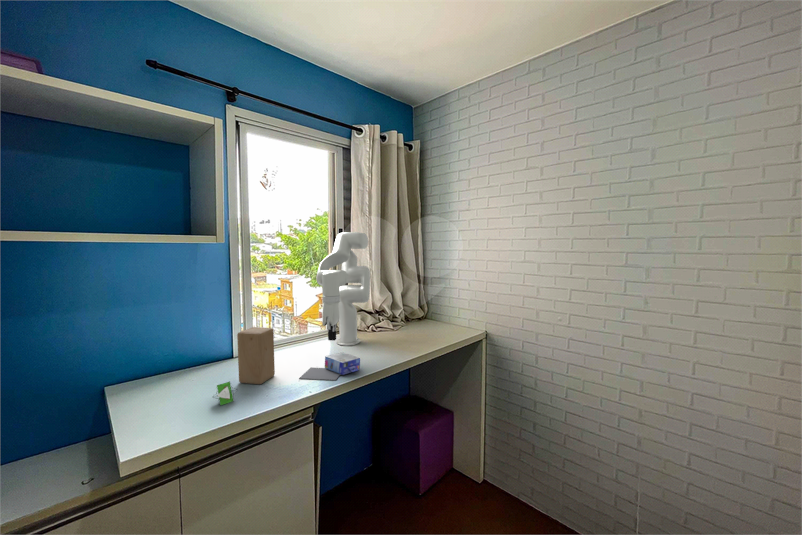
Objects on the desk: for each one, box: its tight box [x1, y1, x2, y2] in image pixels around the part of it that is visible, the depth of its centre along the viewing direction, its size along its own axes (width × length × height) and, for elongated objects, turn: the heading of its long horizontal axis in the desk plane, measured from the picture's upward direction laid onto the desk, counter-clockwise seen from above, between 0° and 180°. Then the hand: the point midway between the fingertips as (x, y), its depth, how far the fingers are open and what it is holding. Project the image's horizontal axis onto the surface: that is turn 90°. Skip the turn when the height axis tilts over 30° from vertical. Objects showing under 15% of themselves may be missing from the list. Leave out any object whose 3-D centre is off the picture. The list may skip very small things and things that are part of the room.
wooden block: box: [236, 326, 276, 385], centre depth 134 cm, size 10×10×20 cm
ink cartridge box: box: [324, 351, 361, 376], centre depth 144 cm, size 10×6×14 cm
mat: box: [298, 367, 341, 382], centre depth 140 cm, size 12×15×1 cm
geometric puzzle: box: [212, 381, 239, 406], centre depth 115 cm, size 7×7×8 cm
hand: (332, 339), depth 152 cm, fingers closed
